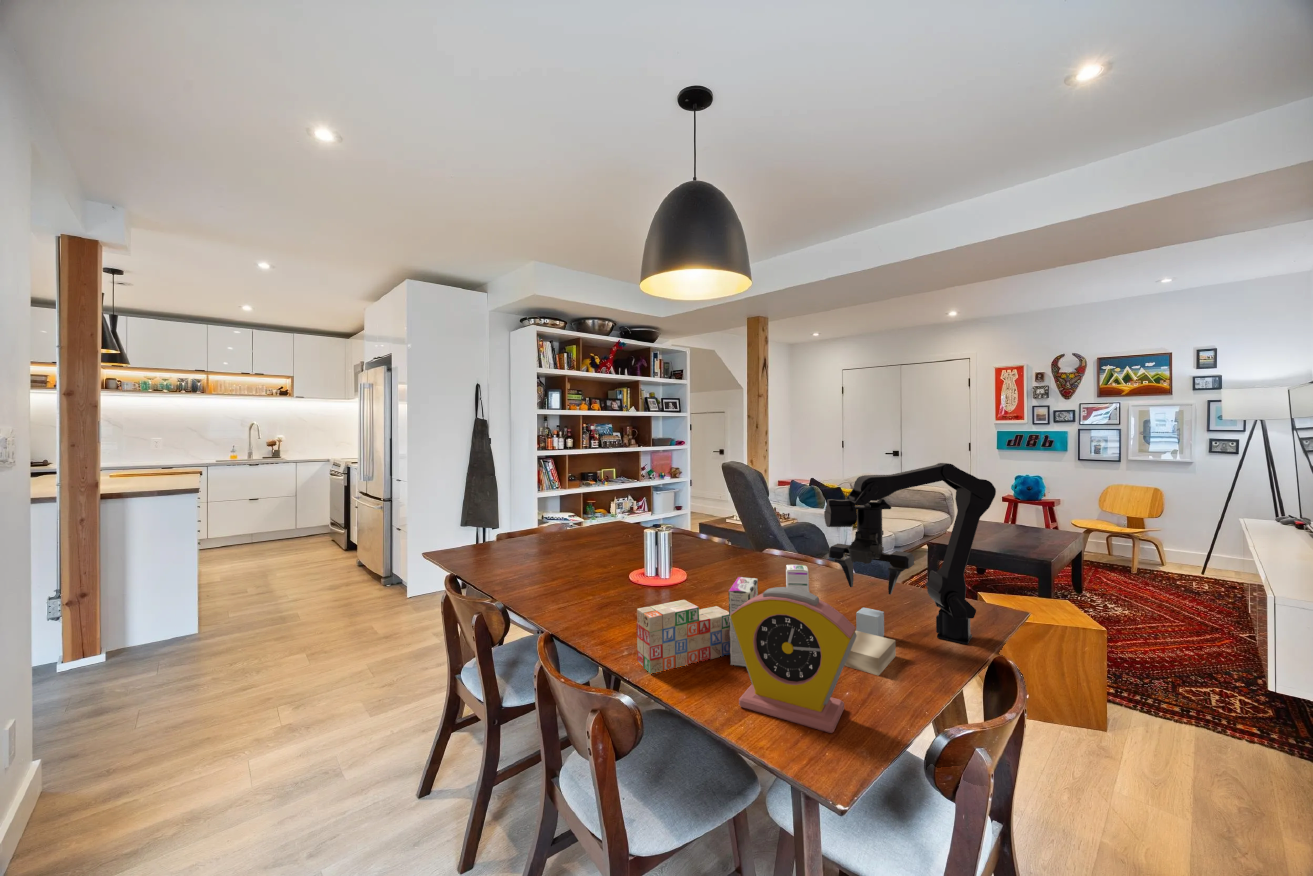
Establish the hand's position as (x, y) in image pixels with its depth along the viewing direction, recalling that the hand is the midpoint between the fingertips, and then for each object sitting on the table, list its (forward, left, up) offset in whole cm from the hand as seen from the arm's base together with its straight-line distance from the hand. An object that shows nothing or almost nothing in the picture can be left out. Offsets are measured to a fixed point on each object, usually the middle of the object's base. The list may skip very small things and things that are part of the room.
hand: (870, 590), depth 124 cm
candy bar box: (+18, +30, -12) cm, 37 cm away
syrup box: (+18, +2, -12) cm, 21 cm away
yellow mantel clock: (0, +43, -12) cm, 45 cm away
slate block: (0, 0, -11) cm, 11 cm away
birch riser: (-2, +14, -12) cm, 18 cm away
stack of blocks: (+27, +39, -12) cm, 49 cm away
